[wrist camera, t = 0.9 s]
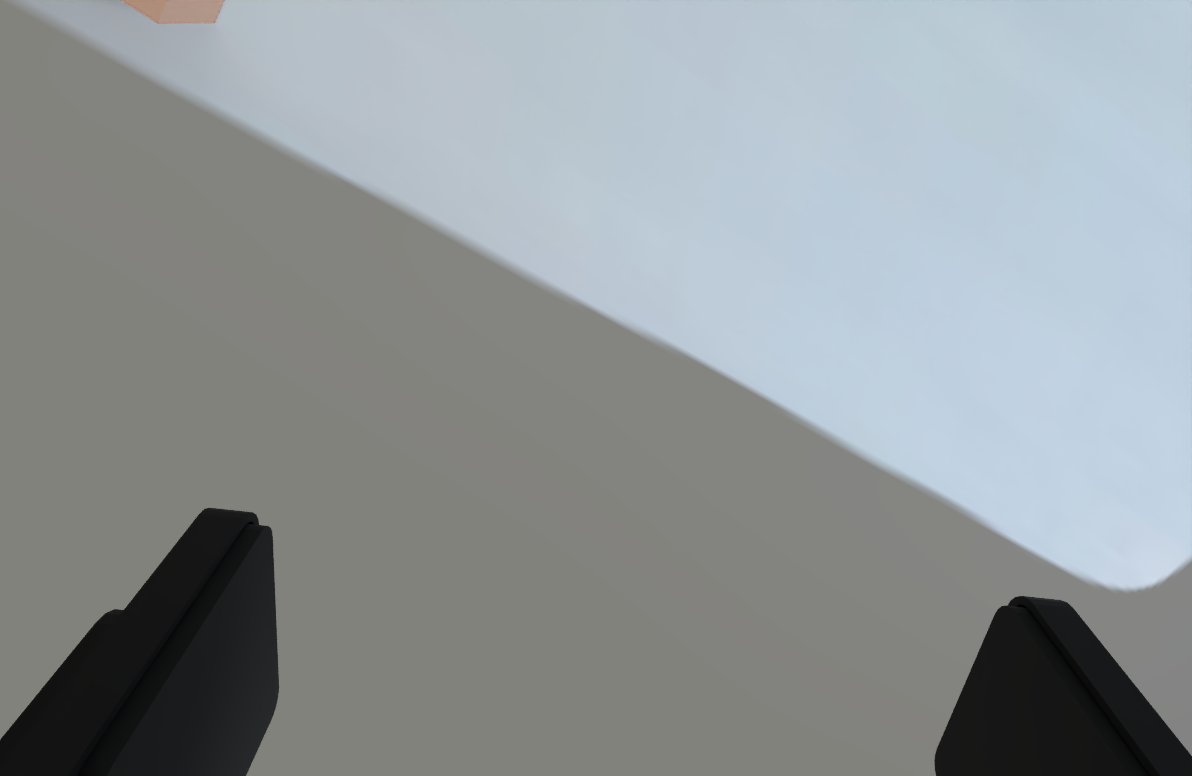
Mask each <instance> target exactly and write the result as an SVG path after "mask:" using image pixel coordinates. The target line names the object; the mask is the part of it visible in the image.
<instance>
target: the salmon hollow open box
mask: <svg viewBox="0 0 1192 776" xmlns="http://www.w3.org/2000/svg"><path fill="white" fill-rule="evenodd" d="M121 1H123V2H125V3H126V4H128V5H129V6H131V7H133V8H134V9H136V10H137V11H139V12H141V13H142V14H144V15H145V16H147V17H149V18H150V19H152V20H153V21H155V22H157V23H158V24H164V23H215V21H216V18H217V16H218V14H219V11H220V9H221V7H222V4H223V2H224V0H121Z"/></svg>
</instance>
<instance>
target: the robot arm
mask: <svg viewBox="0 0 1192 776" xmlns="http://www.w3.org/2000/svg"><path fill="white" fill-rule="evenodd" d="M278 692H279V677H278V654H277V629H276V606H275V582H274V559H273V536H272V530H271V528H270V527H269V526H261V525H259V521H258V518H257V516H256V514H254V513H252V512H242V511H234V510H225V509H216V508H207V509H204V510H203V511H202V512H201V513H200V514H199V515H198V516H197V518H196V519H195V520H194V522H193V523H192V524H191V525H190V527H189V528H188V530H187V531H186V532H185V533H184V534H183V536H182V537H181V538H180V539H179V541H178V542H177V543H176V545H175V546H174V547H173V548H172V550H171V551H170V552H169V553H168V555H167V556H166V557H165V558H164V560H163V561H162V562H161V564H160V565H159V566H158V567H157V569H156V570H155V571H154V572H153V574H152V575H151V576H150V578H149V579H148V580H147V581H146V583H145V584H144V585H143V586H142V588H141V589H140V590H139V592H138V593H137V594H136V595H135V597H134V598H133V599H132V600H131V602H130V603H129V604H128V605H127V607H126V608H125V609H124V610H117V609H114V610H112V611H110V612H107V613H105V614H104V615H103V616H102V617H101V618H100V619H99V620H98V621H97V622H96V623H95V624H94V626H93V627H92V628H91V629H90V630H89V632H88V633H87V634H86V635H85V637H84V638H83V639H82V640H81V641H80V643H79V644H78V645H77V646H76V648H75V649H74V650H73V651H72V653H71V654H70V655H69V656H68V657H67V659H66V660H65V661H64V662H63V664H62V665H61V666H60V667H59V668H58V670H57V671H56V672H55V673H54V675H53V676H52V677H51V678H50V680H49V681H48V682H47V683H46V684H45V686H44V687H43V688H42V689H41V691H40V692H39V693H38V694H37V695H36V697H35V698H34V699H33V700H32V702H31V703H30V704H29V705H28V706H27V708H26V709H25V710H24V711H23V713H22V714H21V715H20V716H19V717H18V719H17V720H16V721H15V722H14V724H13V725H12V726H11V727H10V729H9V730H8V731H7V732H6V734H5V735H4V736H3V737H2V738H1V740H0V776H246V774H247V772H248V770H249V768H250V765H251V763H252V761H253V759H254V757H255V755H256V752H257V750H258V748H259V746H260V743H261V741H262V739H263V737H264V735H265V733H266V730H267V728H268V726H269V724H270V722H271V719H272V717H273V714H274V711H275V708H276V704H277V699H278ZM935 771H936V776H1192V756H1191V755H1190V754H1189V752H1188V751H1187V750H1186V748H1185V747H1184V746H1183V745H1182V743H1181V742H1180V741H1179V740H1178V738H1177V737H1176V736H1175V735H1174V733H1173V732H1172V731H1171V730H1170V728H1169V727H1168V726H1167V725H1166V723H1165V722H1164V721H1163V720H1162V719H1161V717H1160V716H1159V715H1158V713H1157V712H1156V711H1155V710H1154V708H1153V707H1152V706H1151V705H1150V704H1149V702H1148V701H1147V700H1146V698H1145V697H1144V696H1143V695H1142V693H1141V692H1140V691H1139V690H1138V688H1137V687H1136V686H1135V685H1134V683H1133V682H1132V681H1131V680H1130V678H1129V677H1128V676H1127V675H1126V674H1125V672H1124V671H1123V670H1122V668H1121V667H1120V666H1119V665H1118V663H1117V662H1116V661H1115V660H1114V659H1113V657H1112V656H1111V655H1110V653H1109V652H1108V651H1107V650H1106V649H1105V647H1104V646H1103V645H1102V644H1101V642H1100V641H1099V640H1098V639H1097V637H1096V636H1095V635H1094V634H1093V632H1092V631H1091V630H1090V629H1089V627H1088V626H1087V625H1086V624H1085V622H1084V621H1083V620H1082V619H1081V617H1080V616H1079V615H1078V614H1077V612H1076V611H1075V610H1074V609H1073V608H1072V607H1071V606H1070V605H1069V604H1068V603H1067V602H1064V601H1061V600H1054V599H1044V598H1035V597H1025V596H1019V597H1015V598H1014V599H1012V600H1011V601H1010V603H1009V605H1008V606H1002V607H1000V608H999V609H998V610H997V612H996V613H995V615H994V618H993V620H992V622H991V624H990V627H989V629H988V631H987V634H986V636H985V638H984V641H983V643H982V646H981V648H980V650H979V652H978V655H977V657H976V660H975V662H974V664H973V666H972V669H971V671H970V673H969V676H968V678H967V680H966V683H965V685H964V687H963V690H962V692H961V694H960V696H959V699H958V701H957V704H956V706H955V708H954V710H953V713H952V715H951V718H950V720H949V722H948V725H947V727H946V729H945V731H944V734H943V736H942V738H941V741H940V743H939V745H938V748H937V750H936V754H935Z"/></svg>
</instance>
